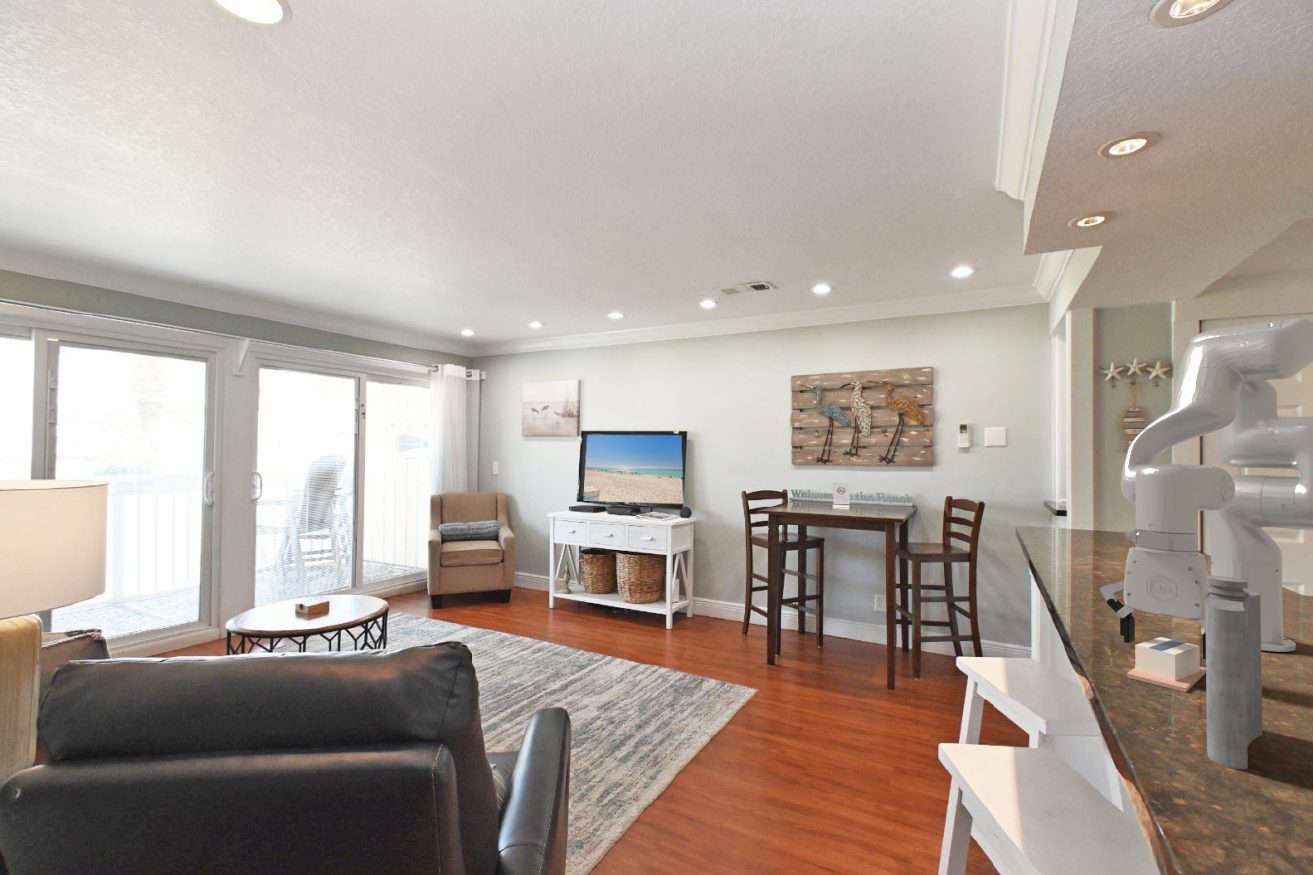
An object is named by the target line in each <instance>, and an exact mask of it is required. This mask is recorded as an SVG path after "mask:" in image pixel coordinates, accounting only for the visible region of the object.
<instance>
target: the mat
mask: <svg viewBox="0 0 1313 875" xmlns="http://www.w3.org/2000/svg"><path fill="white" fill-rule="evenodd" d="M1205 675H1206V667H1203V666H1200V671H1199V672H1196V673H1194V674H1192V675H1189V676H1187V677H1184V678H1182V679H1179V680H1177V681H1173V680H1169V679H1166V678H1162V677H1158V676H1155V675H1151V674H1147V673H1144V672H1140V671H1137V670H1135V667H1134V668H1132V669H1131V670H1129V671H1128V672H1126V678H1128V679H1132V680H1136V681H1140V682H1144V683H1147V684H1148V683H1149V684H1152V685H1154V686H1155V685H1156V686H1160V687H1164V688H1167V689H1172V690H1176V691H1180V692H1183V693H1187V692H1188V691H1190V689H1191V688H1192V687H1193V686H1194V685H1196V683H1197V682H1199V680H1200V679H1202V678H1203V676H1205Z"/></svg>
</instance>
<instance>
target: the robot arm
mask: <svg viewBox="0 0 1313 875" xmlns="http://www.w3.org/2000/svg"><path fill="white" fill-rule="evenodd" d="M1311 363H1313V321H1312V320H1310V319H1308V318H1302V317H1299V318H1298V317H1297V318H1289V319H1287V318H1286V319H1280V320H1273V321H1265V322H1259V323H1249V324H1242V325H1240V324H1239V325H1234V326H1226V327H1221V328H1220V327H1219V328H1215V329H1211V330H1206V331H1203V332H1200V333H1198V334H1196V335H1194V336H1193V337H1192V338H1191V339H1190V340H1189V342H1188V347H1187V348H1186V349H1185V351H1184V352H1183V356H1182V358H1181V362H1180V366H1179V370H1178V374H1177V379H1176V383H1175V387H1174V391H1173V396H1172V399H1171V404H1170V408H1169V410H1168V411H1166V412H1165V413H1163V414H1162V415H1160V416H1159V417H1157V418H1156V419H1155V420H1153V421H1152V422H1151V423H1149V424H1148V425H1147V426H1145V428H1144V429H1142V431H1140V432H1139V433H1138V434H1137V435H1136V436H1135V437H1134V438H1133V440H1132V441H1131V442H1130V443H1129V444H1130V445H1129V446H1128V449H1127V451H1126V454H1125V455H1126V456H1125V460H1124V463H1123V466H1122V470H1121V471H1122V472H1121V474H1120V475H1121V477H1120V491H1121V494H1122V496H1123V497H1124V499H1125V500H1126V501H1128V502H1129V503H1130V504H1133V505H1135V529H1134V530H1131V531H1125V533H1124V539H1125V540H1130V541H1132V542H1133V543H1134V545H1135V546H1132V547H1129V548H1128V549H1129V550H1128V553H1127V556H1126V562H1125V569H1124V570H1125V571H1124V580H1122V581H1117V582H1115V583H1110V584H1108V585H1104V586H1101V587H1100V588H1099V591H1100V593H1101V594H1102V596H1103V598H1104V599H1105V601H1106V604H1107V605H1108V607H1109V608H1111V609H1112V611H1113V612H1115V613H1116V615H1117V617H1118V618H1119V635H1120V636H1122V637H1123V642H1124V643H1126V644H1131V643H1132V642H1134V641H1135V639H1136V637H1135V635H1136V631H1135V629H1136V628H1135V626H1136V624H1135V622H1136V621H1135V620H1136V618H1135V617H1134V615H1133V613H1134V612H1135V611H1139V612H1144V613H1150V614H1155V615H1161V616H1167V617H1172V618H1178V619H1183V620H1190V621H1196V622H1197V623H1198V624H1199V625H1200V626H1201V628H1200V633H1201V635H1202V659H1204V661H1206V611H1205V601H1206V598H1207V597H1208V596H1209V595H1211V593H1210V592H1209V587H1211V584H1208V583H1206V582H1207V581H1206V580H1207V579H1206V578H1207V577H1206V576H1225V577H1232V578H1239V579H1243V580H1246V581H1248V582H1247V583H1248V584H1247V585H1248V586H1247V587H1248V588H1243V590H1245V591H1251V592H1256V593H1259V594H1260V609H1261V651H1264V652H1275V653H1277V652H1278V653H1280V652H1281V653H1285V652H1287V653H1289V652H1294V651H1296V650H1297V644H1296V643H1295V642H1294V640H1291V639H1289V638H1287V637H1284V619H1283V616H1284V615H1283V611H1284V610H1283V608H1284V607H1283V604H1284V603H1283V555H1282V550H1281V549H1280V547H1279V545H1278V543H1277V542H1276V541H1275V540H1274V539H1273V538H1272V537H1271V536H1270V535H1269V534H1268V533H1267V532H1266V531H1265V530H1264V529H1263V528H1277V529H1288V530H1289V529H1290V530H1301V531H1302V530H1303V531H1304V530H1305V531H1313V416H1292V417H1291V416H1288V417H1287V416H1286V417H1285V416H1283V417H1280V416H1279V415H1278V392H1277V390H1276V389H1275V387H1274V386H1273V385H1272V384H1271V383H1270V382H1269V380H1270V381H1272V380H1282V379H1288V378H1291V377H1294V376H1295V375H1297V374H1298V373H1300V372H1301V371H1302V370H1304V369H1305V368H1307V367H1308V366H1309V365H1310V364H1311ZM1213 432H1214V451H1215V456H1216V458H1217V460H1218V462H1220V463H1221V464H1222V465H1225V466H1227V467H1232V468H1242V469H1243V468H1244V469H1245V468H1246V469H1247V468H1249V469H1279V470H1280V469H1282V470H1285V469H1286V470H1295V471H1297V472H1298V473H1299V475H1300V476H1289V475H1288V476H1287V475H1286V476H1283V475H1282V476H1281V475H1260V474H1230V473H1229V472H1227V471H1226V470H1225V469H1223V468H1221V467H1218V466H1215V465H1208V464H1207V465H1206V464H1183V463H1154V462H1155V460H1156V459H1157V458H1158V457H1159V456H1160V455H1161V454H1162V453H1163V452H1165V451H1166V450H1168V449H1170V448H1173V447H1174V446H1176V445H1178V444H1181V443H1184V442H1187V441H1191V440H1193V439H1196V438H1199V437H1203V436H1205V435H1207V434H1211V433H1213ZM1198 511H1206V515H1207V520H1208V527H1209V535H1210V575H1209V570H1208V566H1207V562H1206V558H1205V555H1204V554H1203V553H1199V514H1198V513H1199V512H1198ZM1121 590H1123V593H1122V594H1123V595H1122V596H1123V603H1124V604H1123V603H1122V602H1120V601H1119V599H1117V598H1116V595H1115V592H1118V591H1119V592H1120V591H1121Z"/></svg>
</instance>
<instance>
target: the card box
mask: <svg viewBox="0 0 1313 875" xmlns="http://www.w3.org/2000/svg"><path fill="white" fill-rule="evenodd" d="M1134 652H1135V654H1134V655H1135V656H1134V658H1135V661H1134V662H1135V666H1134V668H1135V670H1137V671H1140V672H1144V673H1147V674H1151V675H1155V676H1158V677H1162V678H1166V679H1169V680H1173V681H1177V680H1179V679H1182V678H1184V677H1187V676H1189V675H1192V674H1194V673H1196V672H1199V671H1200V667H1201V665H1200V663H1201V662H1200V659H1201V658H1200V655H1201V654H1200V645H1197V644H1193V643H1188V642H1186V641H1182V640H1177V639H1170V638H1167V637H1162V636H1160V637H1156V638H1153V639H1151V640H1150V639H1149V640H1147V641H1144V642H1140V643H1138V644H1135V645H1134Z"/></svg>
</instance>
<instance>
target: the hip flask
mask: <svg viewBox="0 0 1313 875" xmlns="http://www.w3.org/2000/svg"><path fill="white" fill-rule="evenodd" d="M1206 577H1207V578H1206V579H1207V580H1206V581H1207V582H1206V583H1208V584H1210V587H1209V592H1210V593H1211V595H1209V596H1208V597H1207V598H1206V601H1205V611H1206V660H1205V668H1206V673H1205V680H1206V682H1205V684H1206V685H1205V686H1206V694H1205V695H1206V697H1205V698H1206V699H1205V700H1206V751H1207V752H1206V753H1207V756H1208V759H1210V761H1212V762H1213V761H1214V762H1213V763H1215V764H1217V763H1218V764H1217V765H1220V766H1222V765H1223V766H1222V767H1225V766H1226V767H1225V768H1230V769H1233V770H1234V769H1235V770H1240V769H1241V770H1244V771H1245V770H1247V769H1248V761H1249V760H1248V747H1249V746H1250V745H1251V743H1252V742H1253V741H1254V740H1255V739H1257V738H1259V737H1261V736H1262V735H1263V700H1262V699H1263V697H1262V695H1263V692H1262V689H1263V688H1262V650H1261V609H1260V594H1259V593H1256V592H1251V591H1245V590H1243V588H1248V587H1247V586H1248V585H1247V584H1248V583H1247V582H1248V581H1246V580H1243V579H1239V578H1232V577H1225V576H1211V575H1209V576H1206Z"/></svg>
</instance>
